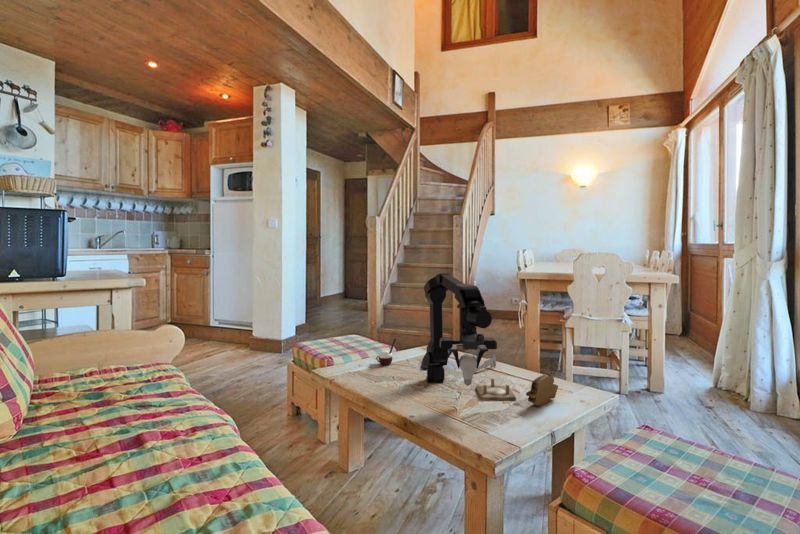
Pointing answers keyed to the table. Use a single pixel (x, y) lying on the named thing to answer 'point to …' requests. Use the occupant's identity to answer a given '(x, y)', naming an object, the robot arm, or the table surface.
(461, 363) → the lightbulb
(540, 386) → the wooden carving
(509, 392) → the pin holder
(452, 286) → the robot arm
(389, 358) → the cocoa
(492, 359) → the caliper
